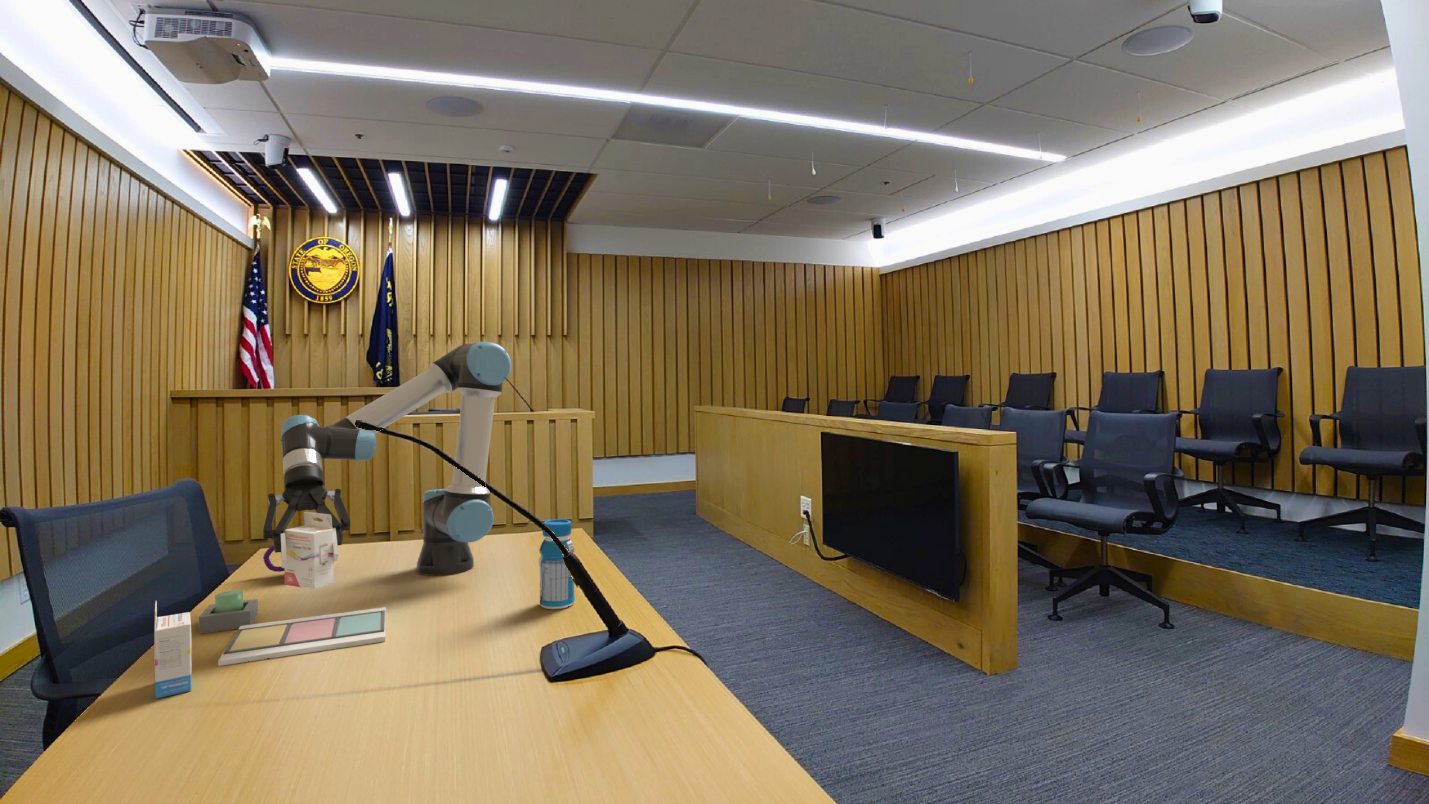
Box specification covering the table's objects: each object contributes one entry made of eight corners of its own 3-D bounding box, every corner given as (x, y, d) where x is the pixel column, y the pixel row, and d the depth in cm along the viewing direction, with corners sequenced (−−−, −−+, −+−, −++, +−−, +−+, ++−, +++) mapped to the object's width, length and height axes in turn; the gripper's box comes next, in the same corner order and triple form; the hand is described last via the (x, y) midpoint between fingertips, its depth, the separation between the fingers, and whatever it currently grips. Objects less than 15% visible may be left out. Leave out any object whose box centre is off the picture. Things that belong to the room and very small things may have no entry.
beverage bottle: (549, 612, 154) (549, 526, 154) (532, 603, 160) (532, 521, 160) (581, 605, 160) (581, 522, 159) (564, 596, 166) (564, 516, 165)
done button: (245, 610, 150) (245, 589, 150) (240, 617, 146) (240, 595, 145) (218, 613, 148) (218, 592, 148) (212, 620, 143) (212, 598, 143)
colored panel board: (386, 611, 155) (386, 605, 155) (385, 641, 137) (385, 635, 137) (240, 630, 143) (240, 624, 143) (218, 666, 125) (218, 659, 125)
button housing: (257, 614, 153) (257, 599, 153) (250, 627, 145) (250, 611, 145) (209, 620, 149) (209, 604, 149) (199, 633, 141) (198, 617, 141)
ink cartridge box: (282, 585, 138) (282, 515, 138) (304, 579, 143) (304, 511, 143) (313, 590, 136) (312, 518, 135) (334, 583, 140) (334, 513, 140)
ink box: (192, 691, 114) (191, 606, 114) (154, 700, 111) (153, 612, 111) (191, 674, 121) (190, 594, 121) (155, 682, 118) (153, 599, 118)
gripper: (355, 480, 158) (366, 563, 145) (245, 488, 145) (247, 579, 133) (358, 460, 153) (370, 543, 140) (245, 466, 141) (247, 558, 128)
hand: (310, 560), depth 137 cm, fingers closed on ink cartridge box, 8 cm apart
